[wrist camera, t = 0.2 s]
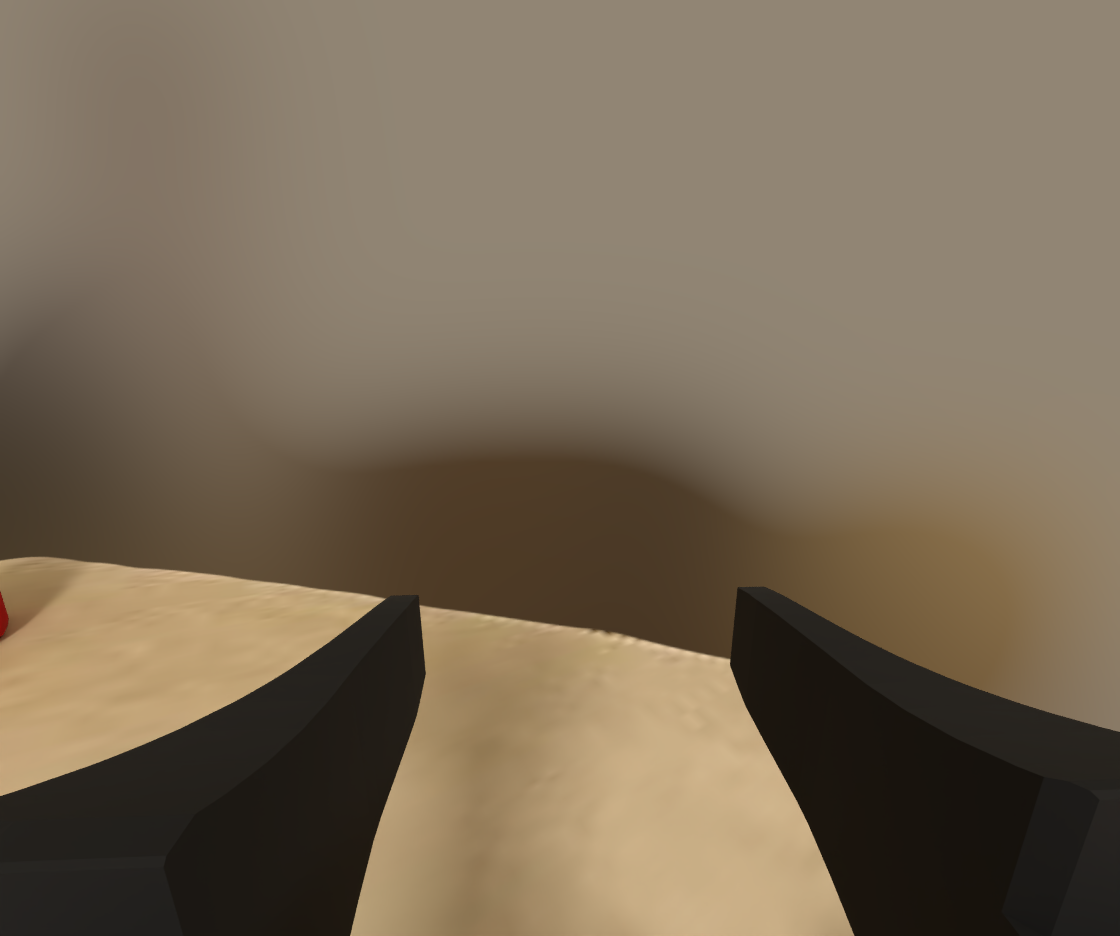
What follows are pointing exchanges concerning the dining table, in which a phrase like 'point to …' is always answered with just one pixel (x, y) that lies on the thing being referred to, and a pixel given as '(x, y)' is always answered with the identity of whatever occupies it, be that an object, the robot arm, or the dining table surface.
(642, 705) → the dining table surface
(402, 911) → the dining table surface
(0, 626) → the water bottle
